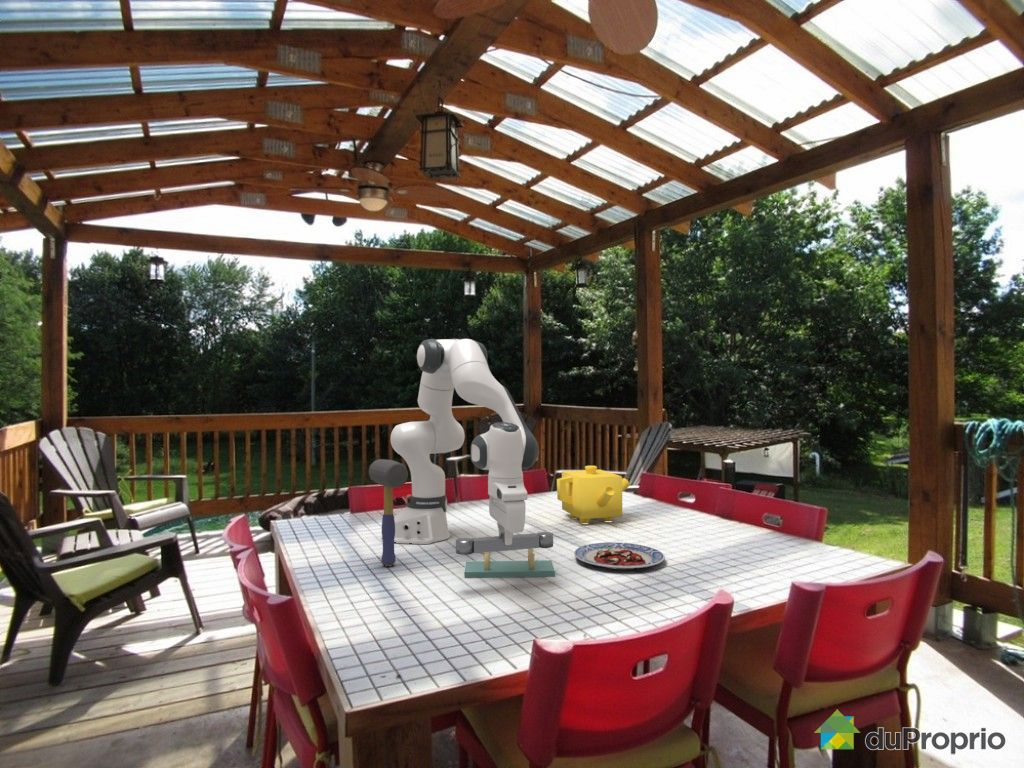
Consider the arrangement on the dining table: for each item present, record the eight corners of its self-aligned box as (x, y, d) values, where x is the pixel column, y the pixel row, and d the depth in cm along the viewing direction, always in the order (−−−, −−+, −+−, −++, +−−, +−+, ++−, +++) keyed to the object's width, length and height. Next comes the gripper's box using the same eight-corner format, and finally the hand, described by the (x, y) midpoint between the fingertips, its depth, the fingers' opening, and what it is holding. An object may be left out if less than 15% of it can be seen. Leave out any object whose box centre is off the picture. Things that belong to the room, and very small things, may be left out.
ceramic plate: (680, 572, 168) (680, 561, 168) (589, 577, 163) (588, 566, 163) (644, 547, 193) (644, 538, 193) (564, 551, 189) (564, 541, 189)
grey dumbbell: (457, 555, 150) (457, 543, 150) (454, 550, 154) (454, 538, 154) (555, 547, 157) (555, 535, 157) (549, 542, 161) (549, 531, 161)
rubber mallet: (410, 568, 171) (410, 460, 171) (386, 573, 167) (385, 463, 167) (390, 558, 181) (390, 456, 181) (367, 563, 177) (366, 458, 177)
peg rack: (464, 577, 163) (464, 557, 163) (466, 566, 173) (466, 547, 173) (554, 576, 164) (554, 555, 164) (551, 565, 174) (551, 546, 174)
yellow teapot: (652, 526, 221) (652, 470, 221) (576, 532, 212) (576, 473, 212) (609, 507, 254) (609, 459, 254) (542, 512, 246) (542, 461, 246)
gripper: (483, 481, 164) (483, 532, 165) (504, 495, 145) (504, 554, 145) (506, 480, 166) (506, 531, 166) (529, 494, 147) (529, 552, 147)
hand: (505, 542), depth 155 cm, fingers closed on grey dumbbell, 3 cm apart
